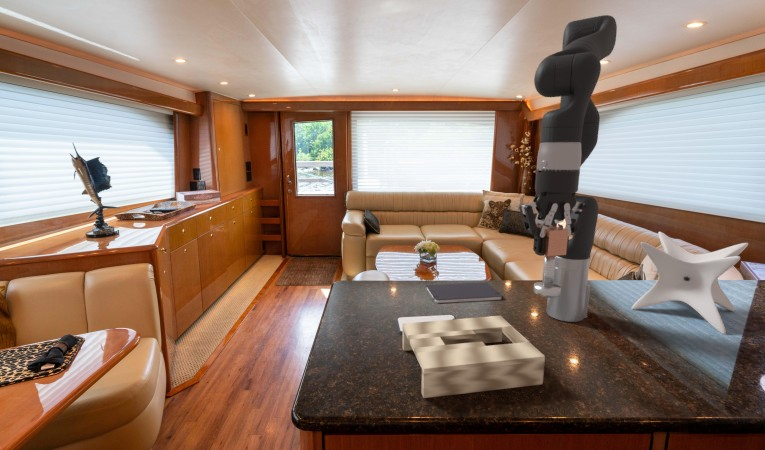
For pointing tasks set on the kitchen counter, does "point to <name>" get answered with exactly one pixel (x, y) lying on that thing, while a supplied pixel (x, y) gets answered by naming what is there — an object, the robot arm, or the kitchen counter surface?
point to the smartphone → (420, 320)
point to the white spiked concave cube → (690, 278)
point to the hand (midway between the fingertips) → (549, 253)
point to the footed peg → (551, 261)
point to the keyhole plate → (471, 356)
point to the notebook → (463, 292)
